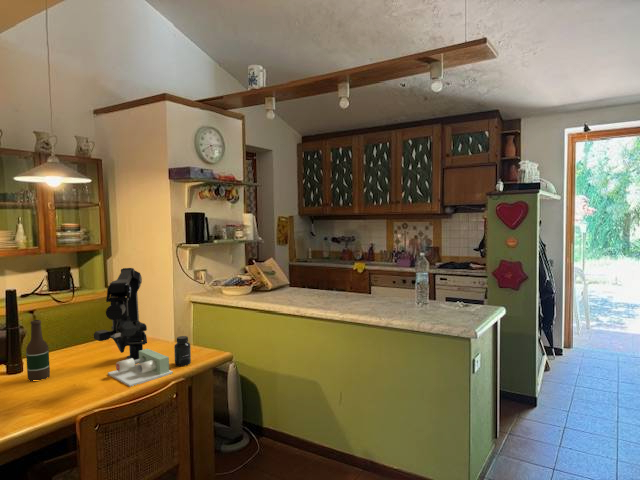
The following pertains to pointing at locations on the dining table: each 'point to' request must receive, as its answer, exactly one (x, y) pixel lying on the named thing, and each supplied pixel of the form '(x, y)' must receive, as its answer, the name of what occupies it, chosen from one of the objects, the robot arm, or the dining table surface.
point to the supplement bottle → (182, 351)
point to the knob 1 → (128, 363)
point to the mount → (135, 377)
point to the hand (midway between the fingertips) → (122, 352)
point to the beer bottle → (37, 354)
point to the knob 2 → (147, 366)
